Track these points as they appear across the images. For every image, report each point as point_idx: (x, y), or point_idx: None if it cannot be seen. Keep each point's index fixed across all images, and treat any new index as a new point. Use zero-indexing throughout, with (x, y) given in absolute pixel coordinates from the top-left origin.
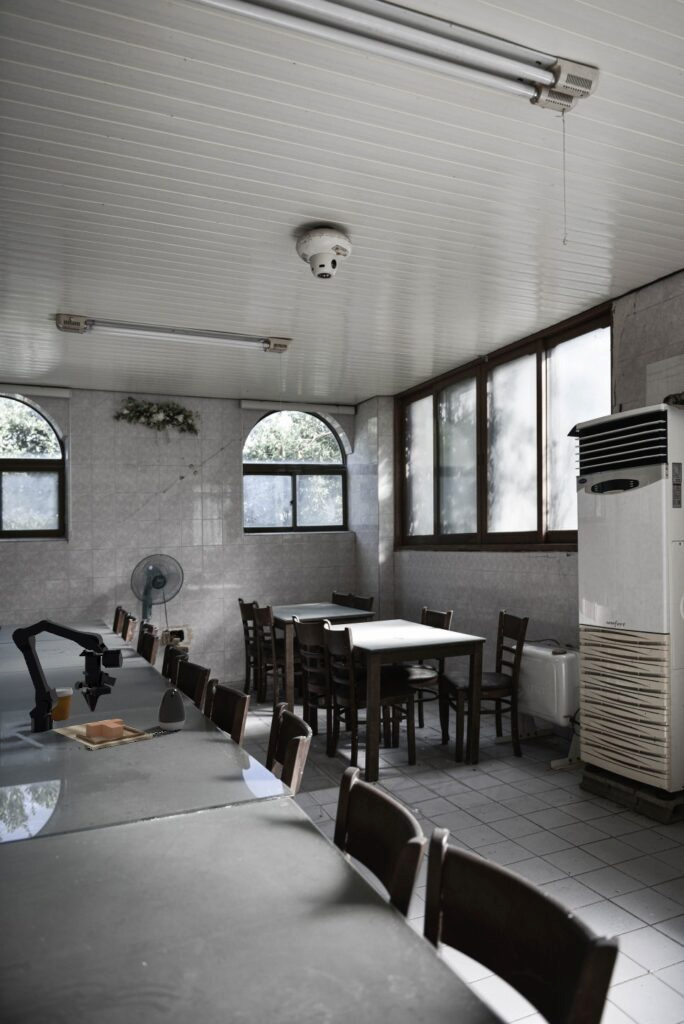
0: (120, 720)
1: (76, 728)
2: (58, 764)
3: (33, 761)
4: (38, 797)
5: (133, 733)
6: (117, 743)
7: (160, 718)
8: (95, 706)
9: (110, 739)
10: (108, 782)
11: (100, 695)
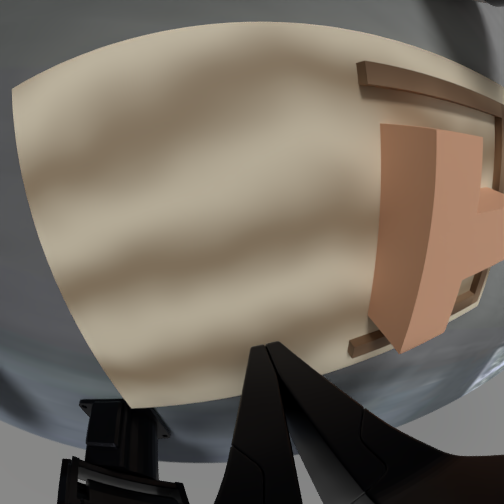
0: (478, 152)
1: (157, 334)
2: (466, 361)
3: (418, 401)
4: (501, 360)
5: (473, 117)
6: None
7: (500, 1)
8: (320, 376)
9: None
10: None
11: (485, 458)
